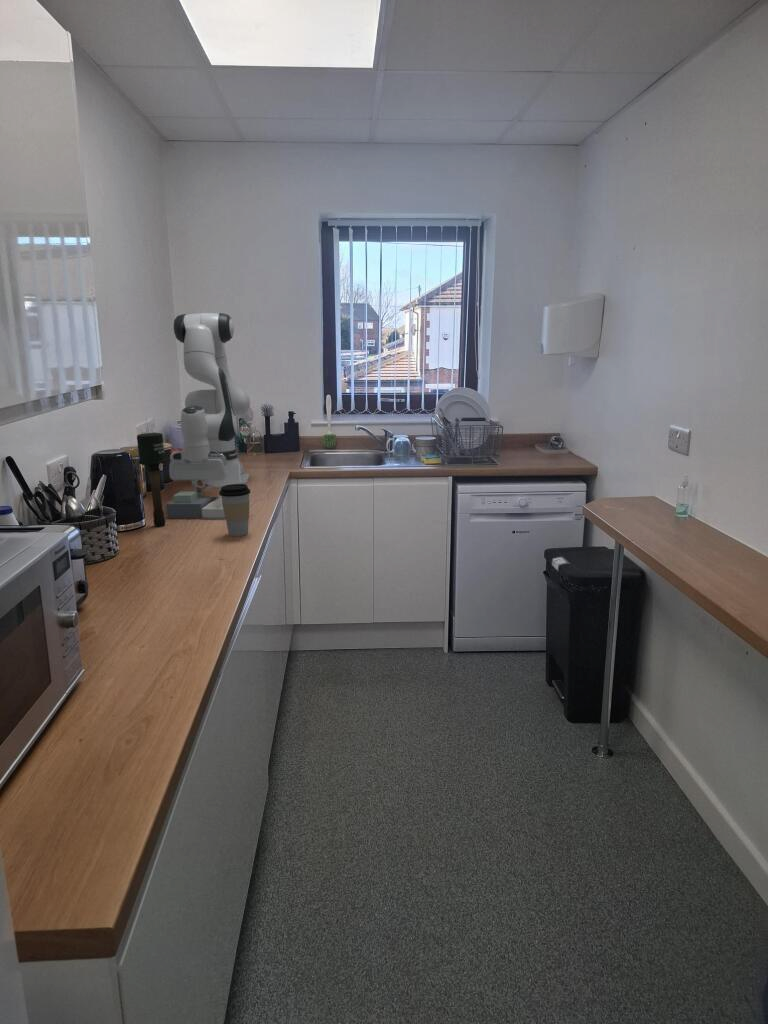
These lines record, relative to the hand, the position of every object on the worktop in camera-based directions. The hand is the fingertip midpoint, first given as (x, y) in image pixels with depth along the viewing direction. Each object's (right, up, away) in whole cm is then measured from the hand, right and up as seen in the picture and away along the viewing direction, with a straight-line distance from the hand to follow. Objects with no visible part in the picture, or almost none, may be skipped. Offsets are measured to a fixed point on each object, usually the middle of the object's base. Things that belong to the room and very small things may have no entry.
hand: (200, 492), depth 238 cm
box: (+10, -7, -3) cm, 12 cm away
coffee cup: (+20, -14, -30) cm, 39 cm away
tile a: (+4, -1, 0) cm, 5 cm away
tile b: (-3, -3, -7) cm, 8 cm away
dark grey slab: (-2, -7, -2) cm, 7 cm away
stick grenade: (-8, -12, -19) cm, 24 cm away
